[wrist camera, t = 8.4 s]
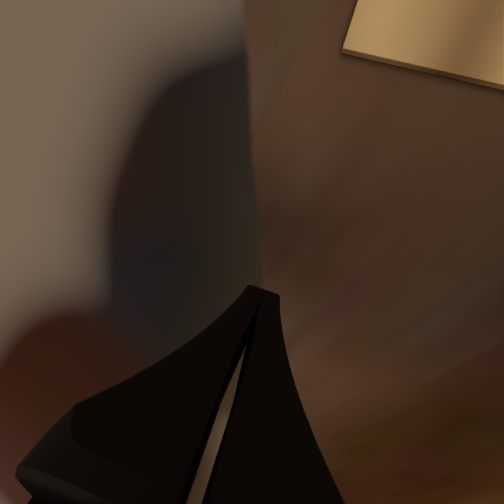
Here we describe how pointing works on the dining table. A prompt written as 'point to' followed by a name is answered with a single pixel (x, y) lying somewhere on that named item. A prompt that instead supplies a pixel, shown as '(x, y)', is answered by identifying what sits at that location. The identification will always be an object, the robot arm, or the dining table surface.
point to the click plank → (432, 37)
